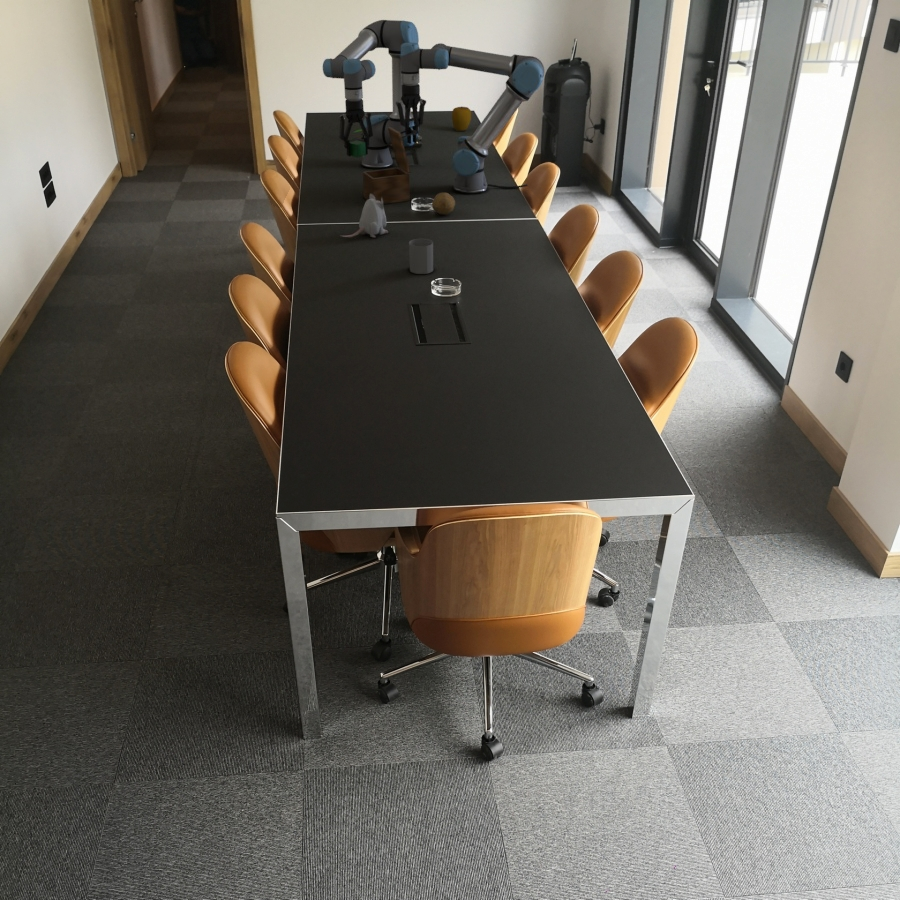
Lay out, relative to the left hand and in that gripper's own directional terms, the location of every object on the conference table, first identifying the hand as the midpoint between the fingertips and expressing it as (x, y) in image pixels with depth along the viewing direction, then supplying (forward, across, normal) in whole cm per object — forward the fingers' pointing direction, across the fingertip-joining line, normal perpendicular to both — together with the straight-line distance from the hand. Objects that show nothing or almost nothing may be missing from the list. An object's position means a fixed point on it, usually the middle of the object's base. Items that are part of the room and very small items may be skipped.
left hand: (357, 154), depth 379 cm
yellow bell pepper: (+18, +93, +91) cm, 132 cm away
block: (0, 0, 0) cm, 0 cm away
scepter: (+18, +42, +85) cm, 96 cm away
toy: (+16, -19, -58) cm, 63 cm away
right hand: (-6, +20, -14) cm, 25 cm away
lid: (-3, +14, -14) cm, 20 cm away
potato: (+17, +22, -43) cm, 51 cm away
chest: (+17, +8, -14) cm, 23 cm away
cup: (+16, -12, -99) cm, 101 cm away
